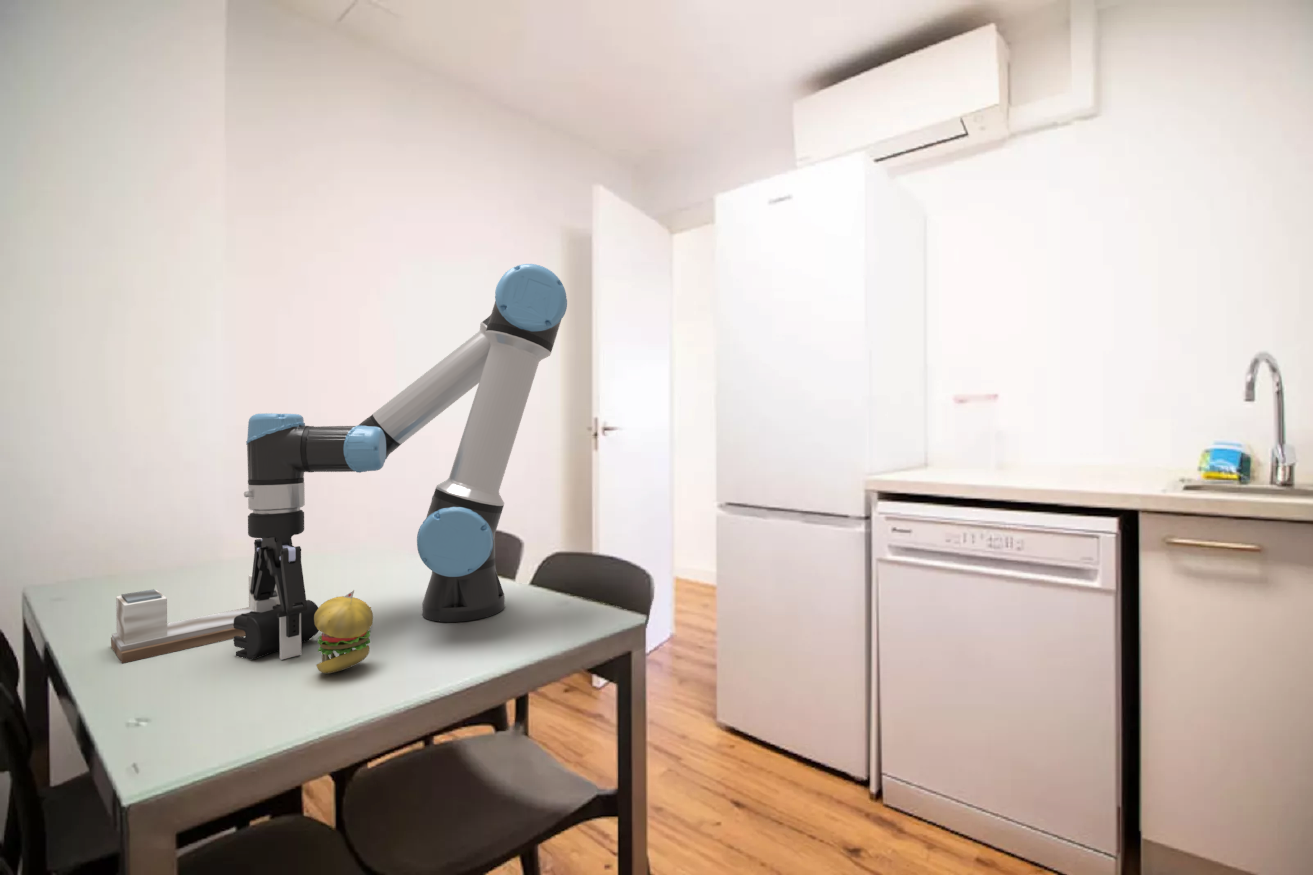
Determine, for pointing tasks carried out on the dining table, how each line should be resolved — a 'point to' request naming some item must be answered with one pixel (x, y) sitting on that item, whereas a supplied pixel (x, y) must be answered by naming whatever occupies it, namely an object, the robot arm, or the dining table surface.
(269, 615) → the end cap
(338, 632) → the hamburger
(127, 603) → the rail board
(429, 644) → the dining table surface
